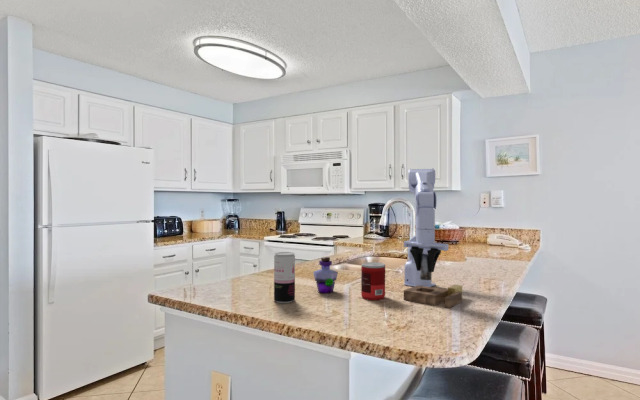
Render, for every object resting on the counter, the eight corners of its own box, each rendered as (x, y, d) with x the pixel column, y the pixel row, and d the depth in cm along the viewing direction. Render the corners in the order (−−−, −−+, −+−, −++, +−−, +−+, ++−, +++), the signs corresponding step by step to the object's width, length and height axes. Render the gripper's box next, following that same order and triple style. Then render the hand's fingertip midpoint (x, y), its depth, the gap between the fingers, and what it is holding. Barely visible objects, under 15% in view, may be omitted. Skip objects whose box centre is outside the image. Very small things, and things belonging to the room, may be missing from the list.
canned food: (387, 296, 131) (387, 263, 131) (381, 301, 124) (381, 266, 124) (365, 293, 134) (365, 261, 134) (358, 299, 127) (358, 265, 127)
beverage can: (285, 297, 129) (286, 251, 129) (299, 300, 125) (299, 253, 124) (269, 300, 125) (270, 253, 125) (282, 304, 120) (283, 255, 120)
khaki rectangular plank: (447, 300, 126) (447, 287, 126) (455, 296, 131) (455, 284, 131) (455, 301, 125) (455, 288, 125) (462, 297, 129) (462, 285, 129)
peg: (417, 278, 127) (418, 253, 127) (423, 277, 130) (424, 253, 130) (427, 280, 124) (428, 255, 125) (433, 279, 127) (434, 254, 127)
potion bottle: (324, 295, 131) (324, 259, 131) (308, 291, 137) (308, 257, 137) (343, 291, 137) (343, 257, 137) (326, 287, 143) (326, 254, 143)
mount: (403, 299, 126) (403, 290, 126) (417, 294, 134) (418, 285, 134) (449, 308, 117) (449, 298, 117) (461, 301, 124) (461, 292, 124)
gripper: (399, 228, 128) (399, 270, 128) (442, 231, 119) (441, 275, 119) (409, 227, 134) (409, 267, 134) (451, 229, 124) (451, 272, 124)
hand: (425, 271), depth 127 cm, fingers closed on peg, 4 cm apart
